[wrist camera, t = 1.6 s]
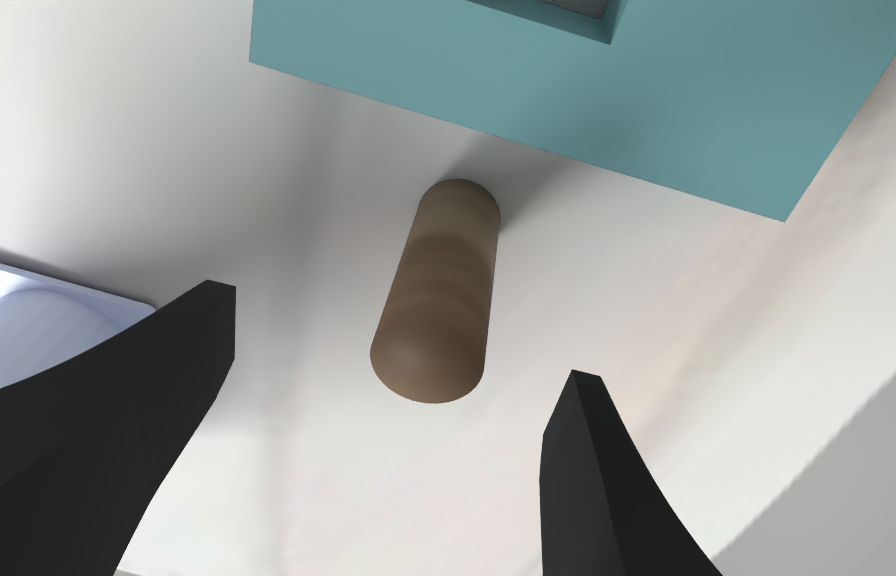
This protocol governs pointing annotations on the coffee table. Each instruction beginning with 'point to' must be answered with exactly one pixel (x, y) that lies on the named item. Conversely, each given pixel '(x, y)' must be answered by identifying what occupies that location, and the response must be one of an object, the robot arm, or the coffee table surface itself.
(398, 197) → the coffee table surface
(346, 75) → the socket board
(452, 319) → the peg
